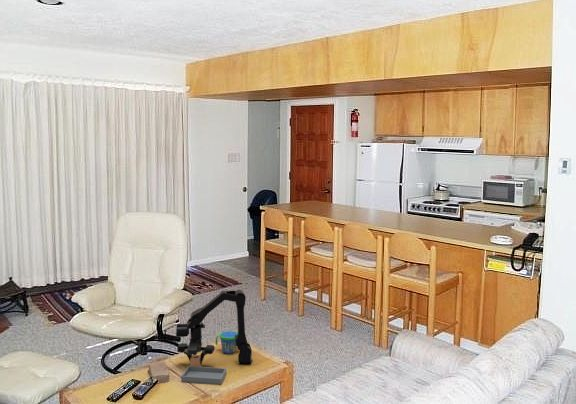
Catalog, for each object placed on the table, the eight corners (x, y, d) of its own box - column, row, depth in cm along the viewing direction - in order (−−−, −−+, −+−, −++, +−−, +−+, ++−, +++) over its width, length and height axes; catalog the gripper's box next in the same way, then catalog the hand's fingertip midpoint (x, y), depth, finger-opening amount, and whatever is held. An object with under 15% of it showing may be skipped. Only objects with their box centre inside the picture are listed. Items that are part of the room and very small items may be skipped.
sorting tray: (226, 374, 268) (226, 368, 268) (220, 384, 256) (220, 379, 256) (188, 371, 270) (188, 365, 270) (181, 382, 259) (181, 376, 258)
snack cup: (245, 349, 299) (245, 332, 298) (238, 357, 289) (238, 339, 288) (220, 346, 304) (220, 329, 302) (212, 353, 293) (212, 335, 292)
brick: (169, 382, 259) (169, 373, 258) (152, 384, 256) (152, 375, 255) (164, 368, 274) (164, 360, 274) (148, 371, 271) (148, 362, 270)
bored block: (202, 364, 279) (202, 355, 279) (199, 368, 274) (199, 359, 274) (192, 363, 280) (192, 354, 279) (190, 367, 275) (190, 358, 274)
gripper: (173, 340, 268) (174, 369, 270) (209, 342, 266) (209, 371, 268) (180, 332, 279) (180, 360, 281) (214, 334, 277) (214, 362, 279)
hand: (196, 364), depth 277 cm, fingers closed on bored block, 5 cm apart
